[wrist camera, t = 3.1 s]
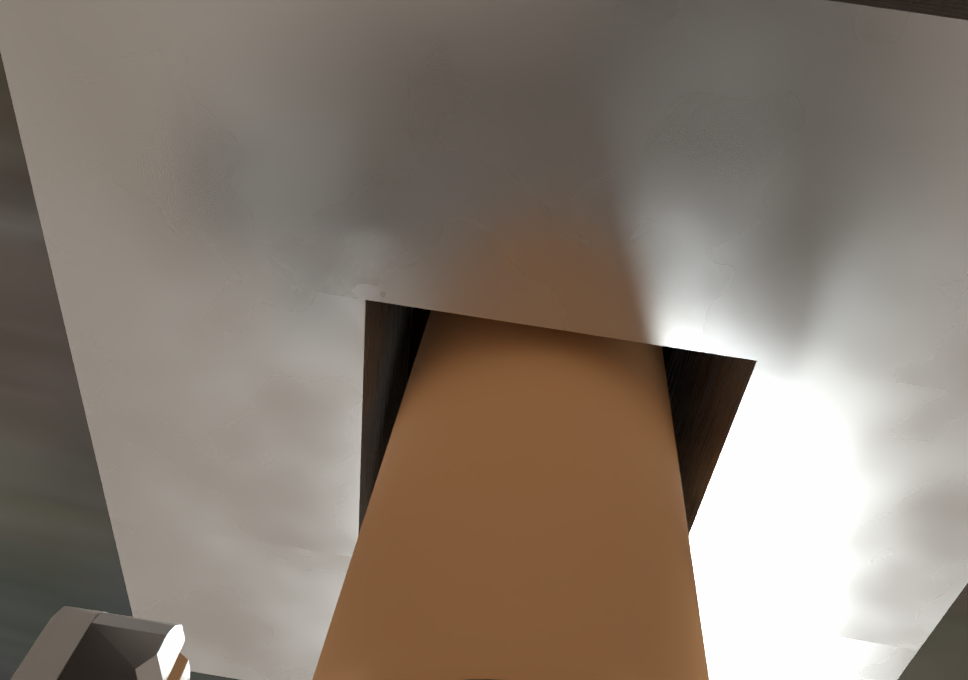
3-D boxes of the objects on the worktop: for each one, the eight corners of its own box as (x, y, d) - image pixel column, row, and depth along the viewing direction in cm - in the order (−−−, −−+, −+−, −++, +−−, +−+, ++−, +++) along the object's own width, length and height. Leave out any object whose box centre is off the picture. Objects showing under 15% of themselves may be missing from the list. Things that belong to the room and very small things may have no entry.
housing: (1097, -10, 13) (1339, 73, 9) (780, 597, 22) (824, 778, 18) (154, -143, 13) (-42, -124, 9) (225, 506, 22) (144, 663, 18)
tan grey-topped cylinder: (682, 236, 16) (800, 752, 7) (628, 419, 19) (665, 952, 10) (444, 200, 16) (271, 661, 7) (427, 387, 19) (286, 885, 10)
